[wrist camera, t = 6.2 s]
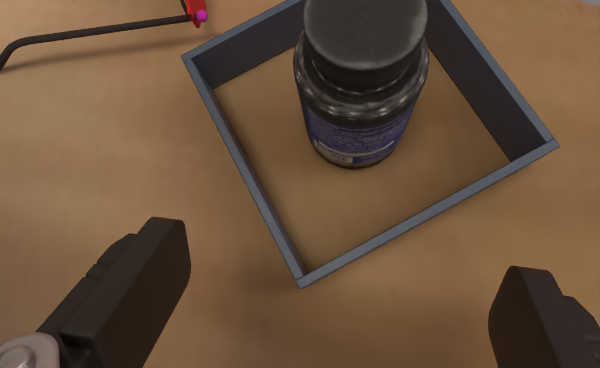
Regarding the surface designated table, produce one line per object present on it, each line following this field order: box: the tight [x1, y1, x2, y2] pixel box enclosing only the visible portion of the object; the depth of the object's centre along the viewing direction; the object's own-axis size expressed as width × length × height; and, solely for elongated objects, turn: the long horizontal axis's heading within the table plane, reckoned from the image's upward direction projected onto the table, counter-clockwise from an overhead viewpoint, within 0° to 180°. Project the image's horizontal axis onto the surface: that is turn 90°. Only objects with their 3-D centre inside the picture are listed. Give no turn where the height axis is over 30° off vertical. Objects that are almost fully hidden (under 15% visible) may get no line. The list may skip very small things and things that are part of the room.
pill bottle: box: [293, 0, 429, 168], centre depth 20 cm, size 6×6×11 cm
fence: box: [181, 0, 560, 289], centre depth 23 cm, size 15×15×4 cm
